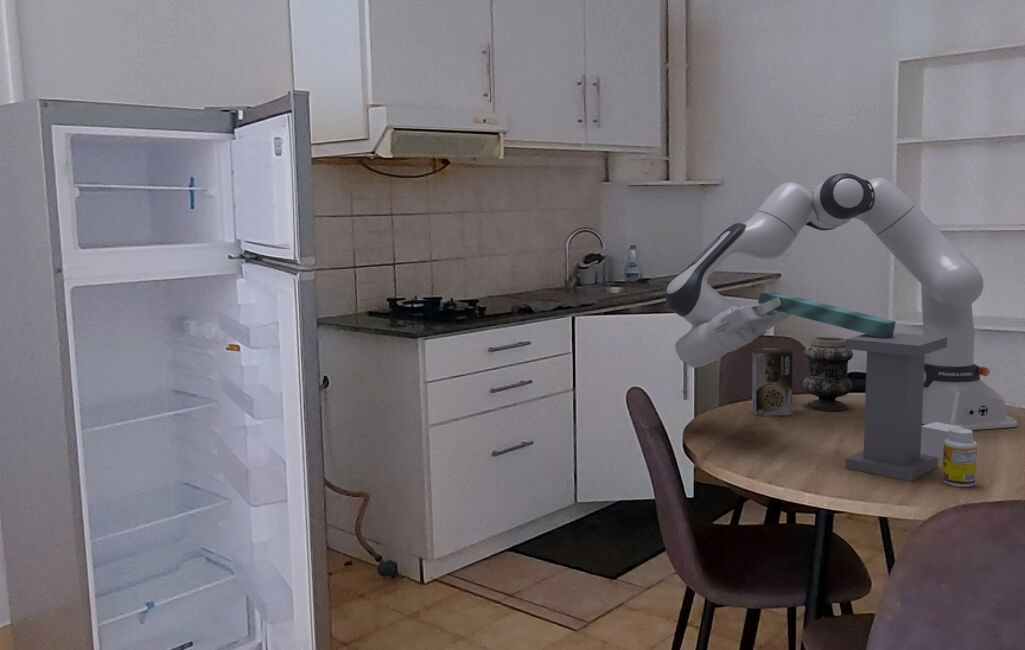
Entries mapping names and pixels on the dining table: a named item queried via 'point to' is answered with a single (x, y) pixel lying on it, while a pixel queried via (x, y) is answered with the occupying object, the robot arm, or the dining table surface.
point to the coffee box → (772, 381)
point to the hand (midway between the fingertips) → (787, 299)
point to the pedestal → (894, 405)
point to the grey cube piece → (934, 438)
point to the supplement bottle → (959, 458)
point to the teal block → (831, 315)
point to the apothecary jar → (828, 372)
